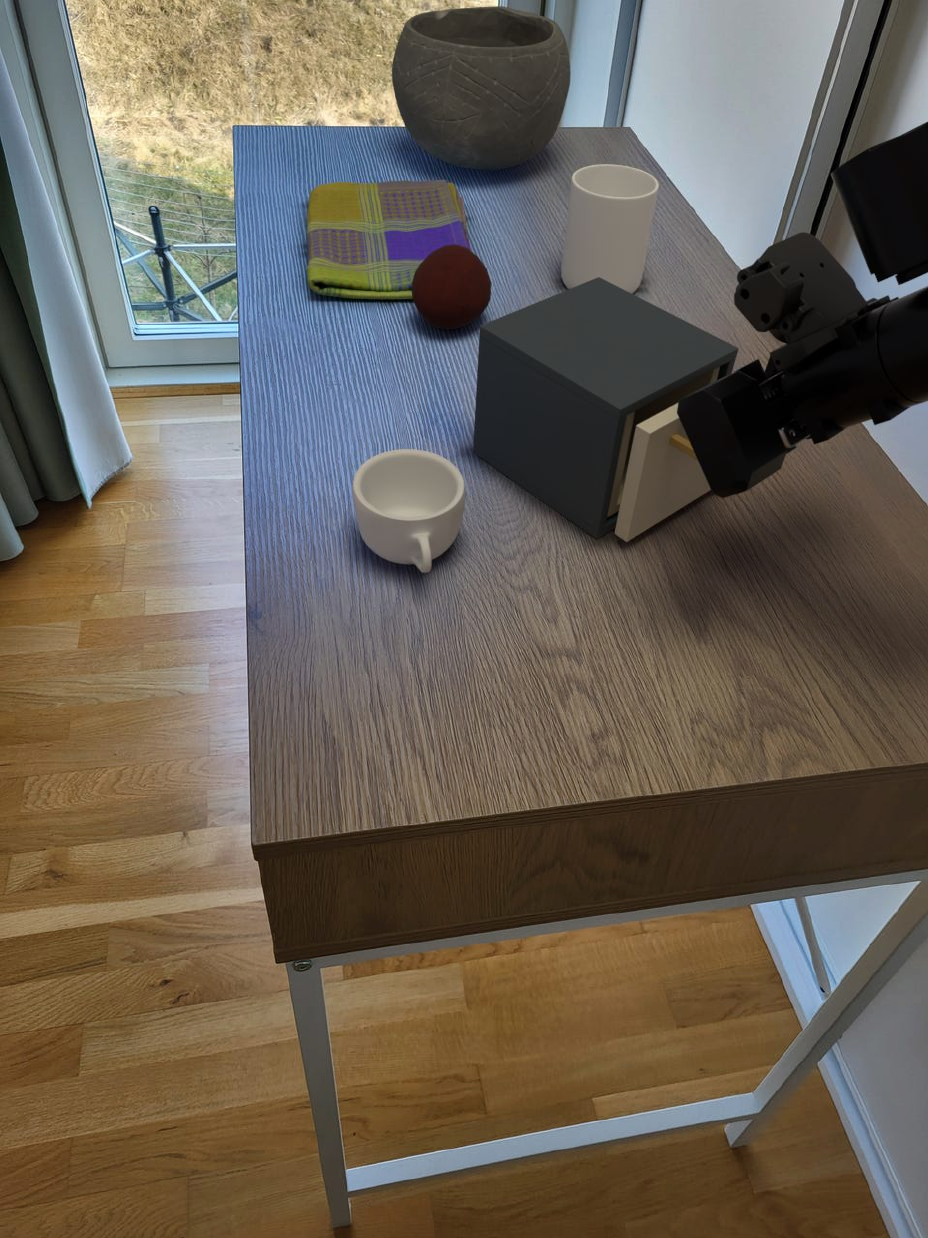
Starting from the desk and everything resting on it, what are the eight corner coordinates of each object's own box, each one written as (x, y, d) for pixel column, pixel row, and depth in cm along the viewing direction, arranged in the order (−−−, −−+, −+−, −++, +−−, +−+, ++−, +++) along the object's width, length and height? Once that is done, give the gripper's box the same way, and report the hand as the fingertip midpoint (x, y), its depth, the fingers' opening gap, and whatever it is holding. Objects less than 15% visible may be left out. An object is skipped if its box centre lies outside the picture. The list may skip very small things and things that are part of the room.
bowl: (467, 209, 109) (473, 63, 98) (359, 152, 120) (354, 15, 109) (595, 169, 119) (613, 32, 108) (485, 120, 129) (491, -9, 119)
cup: (543, 281, 97) (554, 179, 90) (610, 245, 104) (625, 147, 96) (610, 309, 93) (626, 205, 86) (675, 270, 100) (695, 170, 93)
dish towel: (300, 302, 92) (297, 275, 90) (309, 199, 109) (308, 174, 107) (479, 302, 93) (481, 275, 91) (461, 201, 110) (462, 176, 108)
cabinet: (704, 474, 75) (739, 347, 67) (596, 539, 69) (620, 409, 61) (580, 398, 82) (598, 276, 74) (472, 452, 76) (479, 325, 68)
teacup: (347, 515, 70) (343, 455, 66) (448, 502, 72) (450, 443, 68) (370, 609, 63) (368, 549, 59) (481, 593, 65) (486, 533, 61)
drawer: (777, 512, 71) (815, 405, 64) (679, 579, 65) (710, 469, 59) (605, 409, 80) (623, 305, 73) (507, 460, 74) (516, 353, 67)
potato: (399, 337, 88) (398, 265, 83) (426, 296, 94) (427, 226, 89) (475, 351, 87) (479, 278, 82) (498, 308, 93) (503, 238, 88)
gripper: (943, 170, 55) (741, 280, 68) (747, 257, 46) (559, 365, 59) (1011, 349, 56) (801, 422, 70) (836, 467, 47) (633, 525, 61)
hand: (705, 429), depth 65 cm, fingers closed
